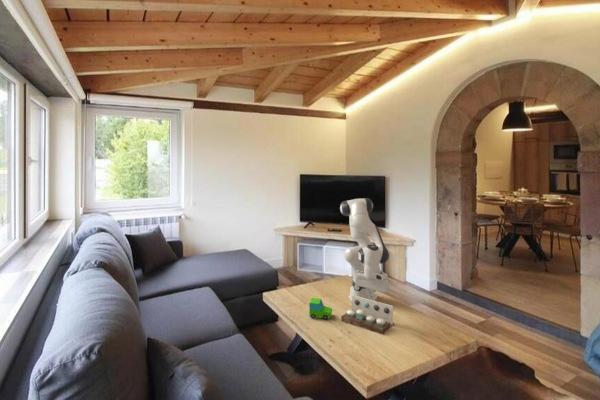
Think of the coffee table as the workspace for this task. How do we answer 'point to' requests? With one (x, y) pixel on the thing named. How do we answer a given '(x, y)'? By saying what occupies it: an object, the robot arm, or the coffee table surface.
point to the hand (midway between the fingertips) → (371, 295)
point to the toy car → (319, 309)
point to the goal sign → (373, 308)
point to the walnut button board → (365, 324)
